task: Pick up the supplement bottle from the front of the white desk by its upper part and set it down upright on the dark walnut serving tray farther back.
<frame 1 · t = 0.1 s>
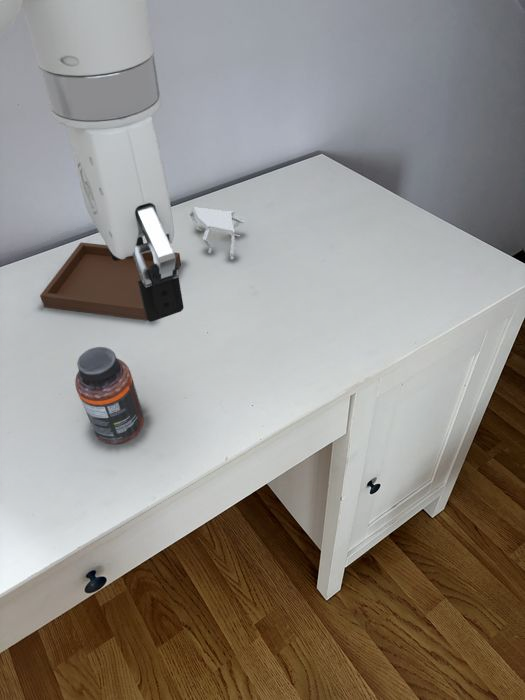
hand: (145, 283, 51), 22 cm above the table, tool pointing down, fingers open, 9 cm apart
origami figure: (216, 242, 93), on the table
supplement bottle: (119, 426, 67), on the table
serving tray: (115, 284, 86), on the table
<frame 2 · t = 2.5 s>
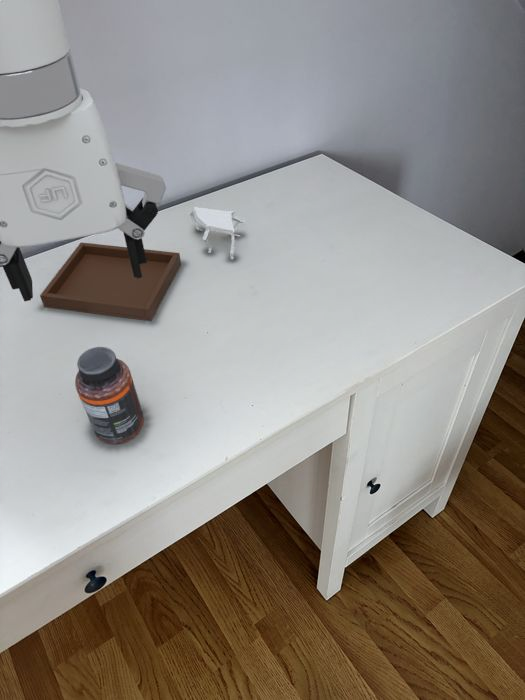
hand: (83, 280, 51), 22 cm above the table, tool pointing down, fingers open, 9 cm apart
nothing on the table moved.
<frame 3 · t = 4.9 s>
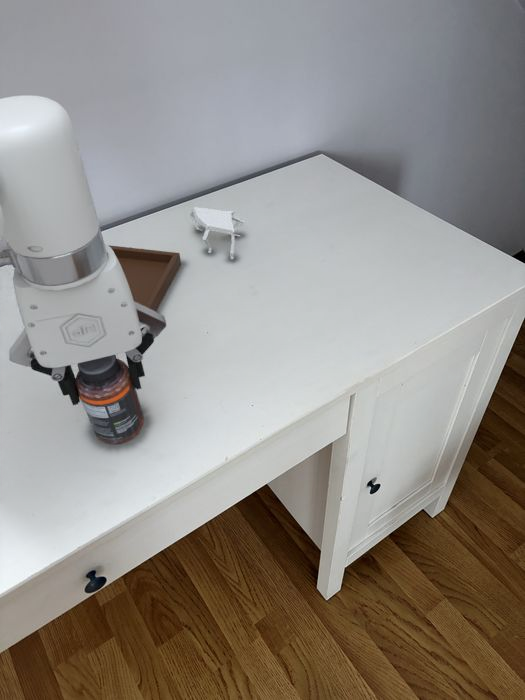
hand: (106, 386, 62), 7 cm above the table, tool pointing down, fingers closed on supplement bottle, 6 cm apart
supplement bottle: (119, 426, 67), on the table, touching gripper
everything else where it was.
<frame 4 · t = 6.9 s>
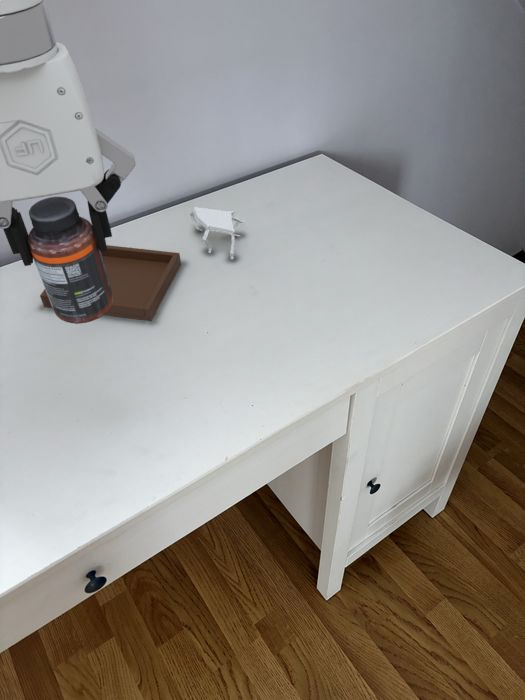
hand: (65, 248, 52), 23 cm above the table, tool pointing down, fingers closed on supplement bottle, 6 cm apart
supplement bottle: (85, 308, 57), point 16 cm above the table, touching gripper
everything else where it was.
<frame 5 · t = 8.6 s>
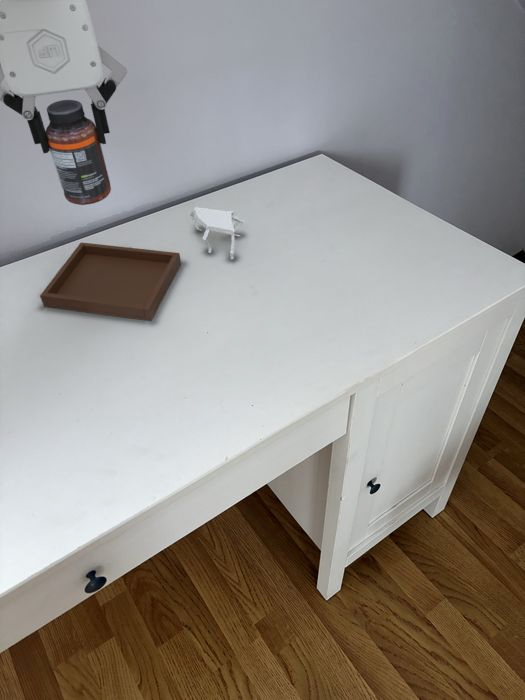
hand: (74, 142, 68), 23 cm above the table, tool pointing down, fingers closed on supplement bottle, 6 cm apart
supplement bottle: (88, 196, 73), point 16 cm above the table, touching gripper
everything else where it was.
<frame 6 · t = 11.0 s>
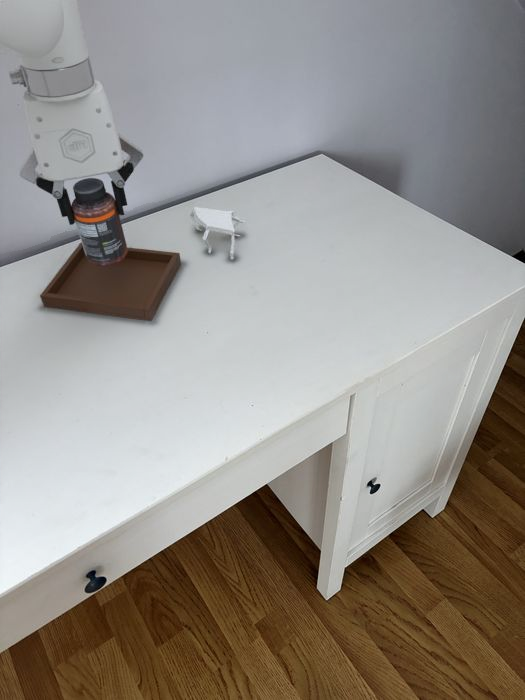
hand: (96, 213, 77), 12 cm above the table, tool pointing down, fingers closed on supplement bottle, 6 cm apart
supplement bottle: (107, 257, 82), point 5 cm above the table, touching gripper
everything else where it was.
when the fingers open (8 cm above the table, at t = 12.7 s): supplement bottle stays where it is, resting on serving tray.
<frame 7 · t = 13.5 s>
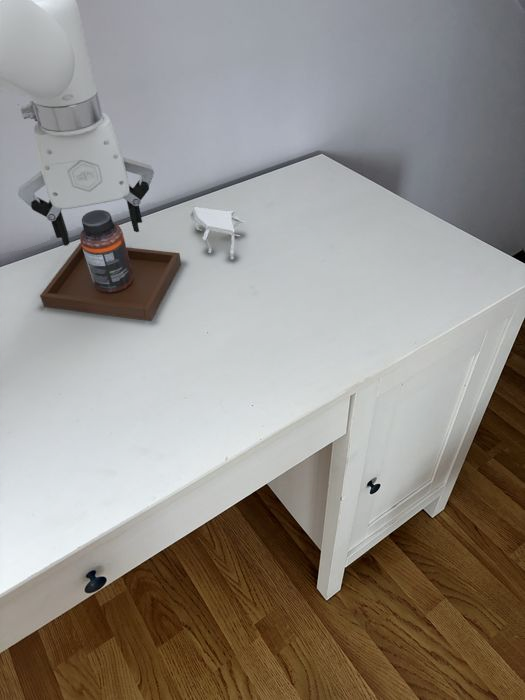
hand: (101, 233, 79), 9 cm above the table, tool pointing down, fingers open, 9 cm apart
supplement bottle: (114, 283, 85), resting on serving tray
everything else where it was.
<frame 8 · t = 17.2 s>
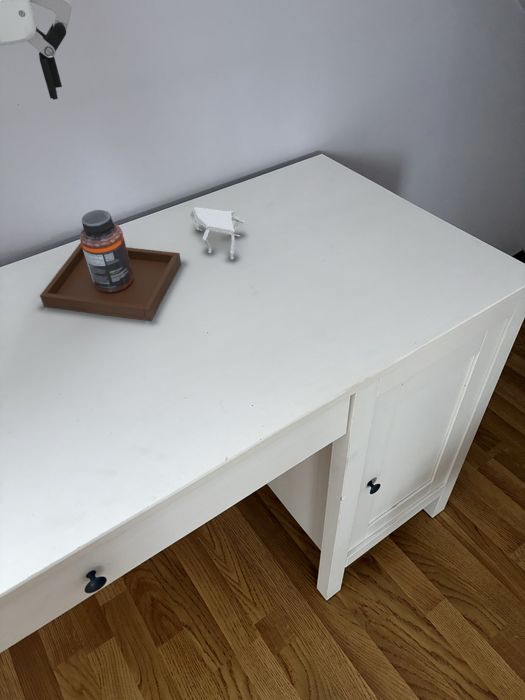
hand: (6, 101, 59), 30 cm above the table, tool pointing down, fingers open, 9 cm apart
nothing on the table moved.
at the end: supplement bottle inside the target area in the serving tray (0.1 cm from its centre), point 0.4 cm above the serving tray's base; supplement bottle tilted 0°; the gripper is holding nothing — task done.
